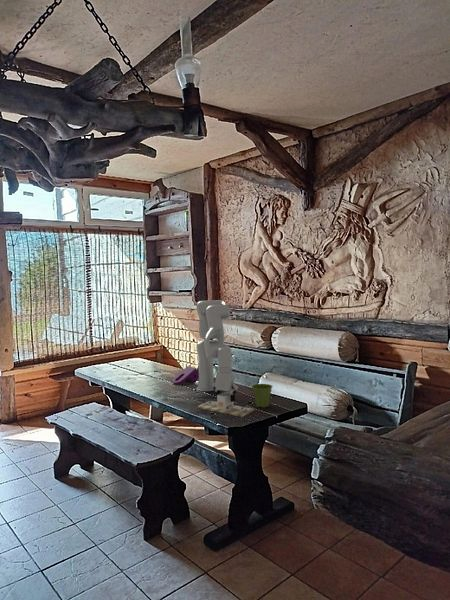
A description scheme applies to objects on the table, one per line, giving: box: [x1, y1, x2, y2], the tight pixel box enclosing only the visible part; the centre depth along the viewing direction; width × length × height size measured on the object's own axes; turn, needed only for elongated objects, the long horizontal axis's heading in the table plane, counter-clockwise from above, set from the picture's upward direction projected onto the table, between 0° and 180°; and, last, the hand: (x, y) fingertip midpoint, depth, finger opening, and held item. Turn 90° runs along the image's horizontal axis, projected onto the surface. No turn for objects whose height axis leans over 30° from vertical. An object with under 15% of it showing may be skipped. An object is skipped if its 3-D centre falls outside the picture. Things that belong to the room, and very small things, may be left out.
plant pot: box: [251, 383, 273, 408], centre depth 257 cm, size 12×12×11 cm
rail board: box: [197, 400, 256, 418], centre depth 252 cm, size 30×12×1 cm, turn 55°
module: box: [216, 391, 235, 410], centre depth 252 cm, size 5×9×8 cm, turn 144°
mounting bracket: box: [171, 365, 199, 386], centre depth 315 cm, size 9×8×18 cm
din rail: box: [204, 400, 248, 412], centre depth 252 cm, size 26×4×2 cm, turn 55°
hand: (225, 400), depth 252 cm, fingers open, 9 cm apart
